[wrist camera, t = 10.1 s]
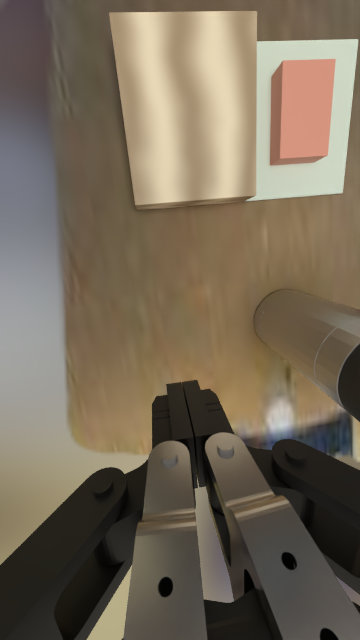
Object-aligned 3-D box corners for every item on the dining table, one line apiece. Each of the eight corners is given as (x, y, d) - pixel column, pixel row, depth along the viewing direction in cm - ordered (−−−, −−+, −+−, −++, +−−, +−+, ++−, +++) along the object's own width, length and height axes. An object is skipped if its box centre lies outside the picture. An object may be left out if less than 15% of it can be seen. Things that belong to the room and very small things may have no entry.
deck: (241, 44, 27) (256, 10, 23) (243, 201, 31) (256, 195, 28) (115, 47, 25) (109, 12, 22) (137, 210, 30) (135, 205, 26)
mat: (355, 42, 28) (358, 39, 27) (340, 193, 33) (342, 192, 32) (243, 44, 27) (244, 41, 26) (244, 201, 31) (246, 201, 31)
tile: (282, 60, 25) (271, 76, 27) (279, 158, 28) (269, 165, 30) (335, 58, 26) (319, 74, 28) (327, 155, 28) (314, 162, 31)
